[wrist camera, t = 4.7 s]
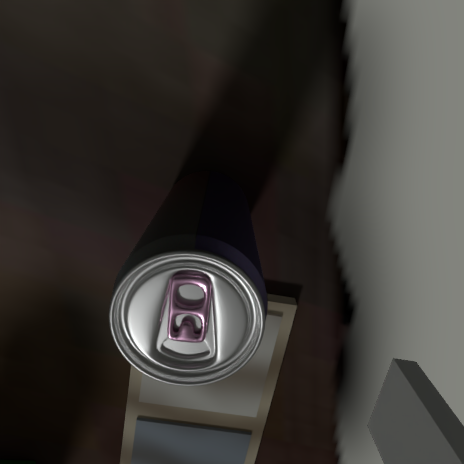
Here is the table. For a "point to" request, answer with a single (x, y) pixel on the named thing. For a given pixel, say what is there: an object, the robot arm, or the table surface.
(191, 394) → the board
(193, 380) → the beverage can
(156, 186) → the table surface
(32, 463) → the milk carton
